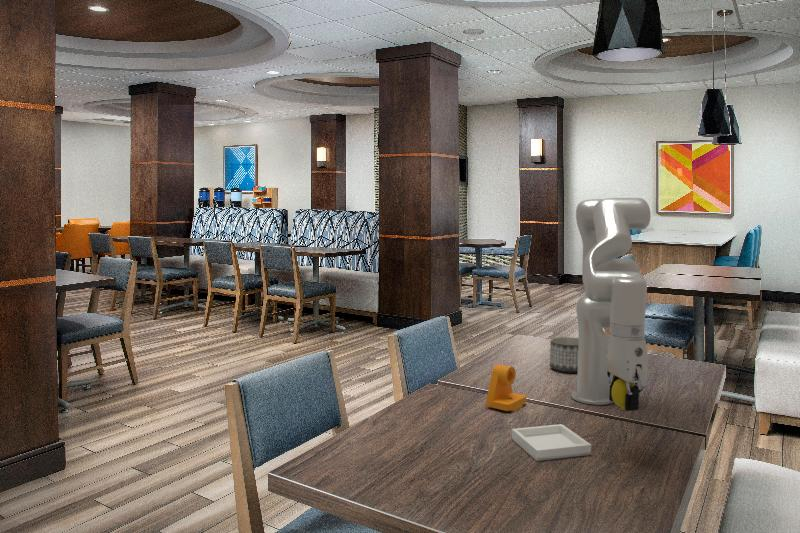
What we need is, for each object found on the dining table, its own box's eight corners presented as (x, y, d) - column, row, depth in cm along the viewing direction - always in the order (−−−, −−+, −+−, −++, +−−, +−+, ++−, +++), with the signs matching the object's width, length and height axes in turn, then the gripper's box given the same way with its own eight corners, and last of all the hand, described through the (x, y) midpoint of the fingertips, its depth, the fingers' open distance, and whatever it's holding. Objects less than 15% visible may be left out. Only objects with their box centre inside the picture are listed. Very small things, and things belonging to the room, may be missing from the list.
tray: (561, 433, 163) (562, 424, 163) (590, 454, 150) (591, 444, 149) (511, 438, 160) (511, 429, 159) (536, 461, 146) (536, 450, 146)
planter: (557, 363, 232) (558, 335, 231) (592, 368, 224) (592, 339, 223) (544, 370, 221) (545, 341, 220) (579, 376, 214) (580, 346, 213)
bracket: (508, 414, 178) (508, 372, 176) (486, 408, 182) (486, 368, 181) (527, 404, 186) (528, 364, 184) (506, 399, 190) (506, 360, 189)
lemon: (607, 405, 151) (608, 373, 150) (629, 404, 152) (630, 372, 151) (616, 414, 146) (618, 380, 145) (639, 413, 146) (641, 379, 145)
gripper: (665, 338, 139) (660, 417, 141) (619, 321, 155) (616, 392, 158) (635, 340, 137) (631, 420, 140) (592, 323, 153) (589, 394, 156)
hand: (623, 404), depth 149 cm, fingers closed on lemon, 5 cm apart
